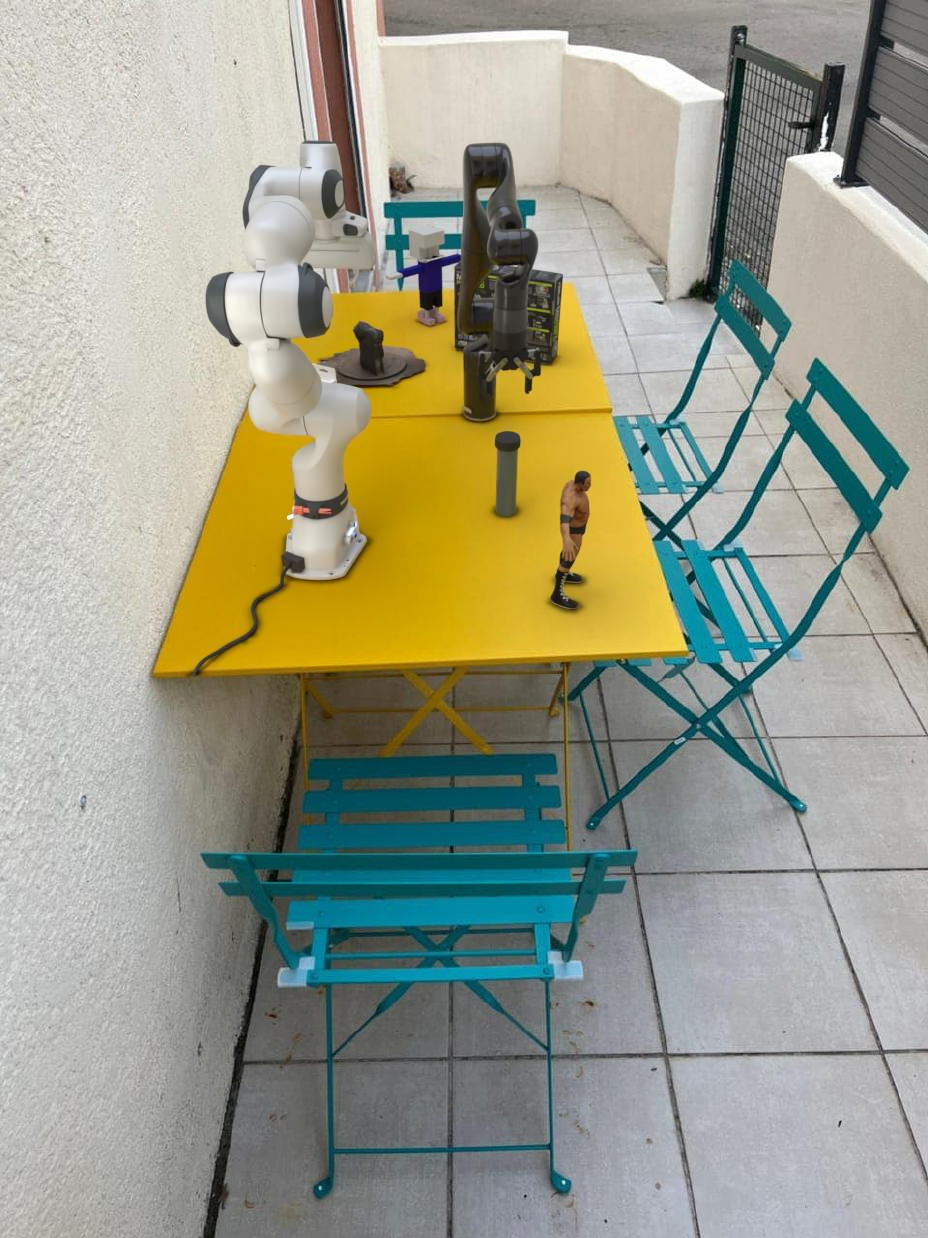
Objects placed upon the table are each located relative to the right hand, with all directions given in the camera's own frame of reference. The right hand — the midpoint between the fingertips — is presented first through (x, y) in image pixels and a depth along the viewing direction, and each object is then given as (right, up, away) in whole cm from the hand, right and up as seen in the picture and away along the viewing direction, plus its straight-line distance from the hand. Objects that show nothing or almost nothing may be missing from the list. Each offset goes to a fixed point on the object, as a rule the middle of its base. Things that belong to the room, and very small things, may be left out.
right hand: (508, 393), depth 204 cm
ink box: (-50, +6, +50) cm, 71 cm away
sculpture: (-40, +27, +75) cm, 89 cm away
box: (+3, +34, +83) cm, 89 cm away
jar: (0, -26, +12) cm, 28 cm away
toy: (-22, +52, +104) cm, 118 cm away
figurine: (+12, -46, -12) cm, 49 cm away
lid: (0, -10, 0) cm, 10 cm away
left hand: (-40, +23, -4) cm, 46 cm away
